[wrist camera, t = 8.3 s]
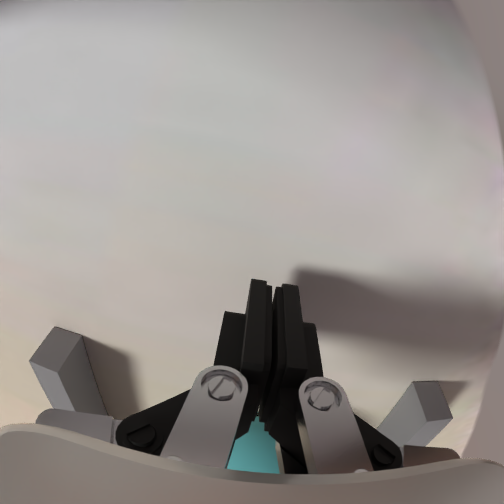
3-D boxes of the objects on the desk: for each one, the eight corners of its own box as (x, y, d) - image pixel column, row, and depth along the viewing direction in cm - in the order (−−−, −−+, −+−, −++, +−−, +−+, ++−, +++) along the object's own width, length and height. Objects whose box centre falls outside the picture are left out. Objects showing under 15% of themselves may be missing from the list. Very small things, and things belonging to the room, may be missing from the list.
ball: (212, 481, 16) (205, 406, 18) (298, 473, 17) (298, 399, 18) (211, 531, 11) (199, 443, 12) (324, 519, 11) (329, 431, 12)
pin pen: (54, 326, 15) (28, 360, 12) (437, 381, 15) (453, 418, 12) (116, 466, 24) (108, 488, 21) (328, 495, 24) (329, 518, 22)
